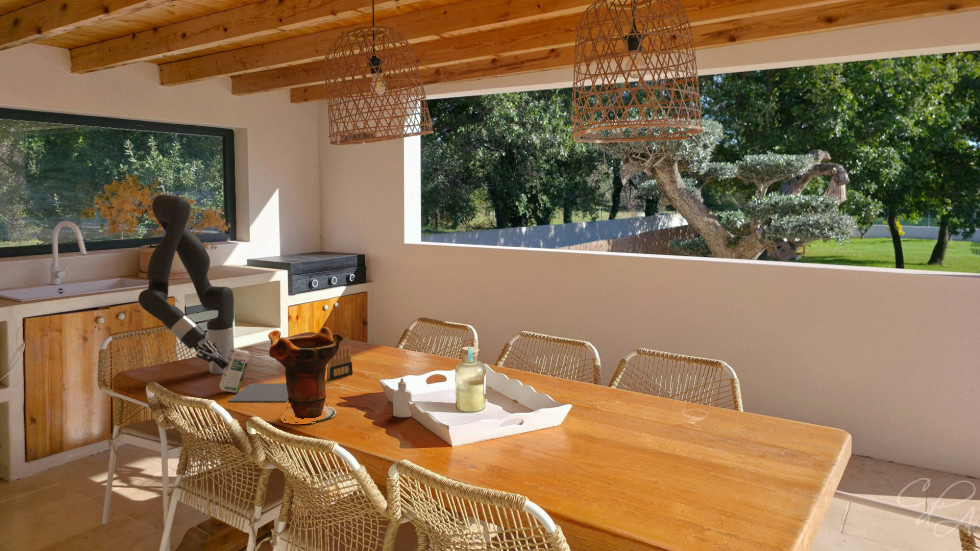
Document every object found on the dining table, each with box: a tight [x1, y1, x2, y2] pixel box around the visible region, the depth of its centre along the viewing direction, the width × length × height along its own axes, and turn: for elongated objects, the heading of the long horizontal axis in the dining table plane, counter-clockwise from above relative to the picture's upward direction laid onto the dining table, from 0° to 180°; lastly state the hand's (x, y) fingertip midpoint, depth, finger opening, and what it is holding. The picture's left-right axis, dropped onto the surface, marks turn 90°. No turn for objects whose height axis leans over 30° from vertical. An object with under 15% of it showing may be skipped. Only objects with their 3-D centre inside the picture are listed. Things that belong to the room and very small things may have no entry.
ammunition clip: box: [326, 343, 354, 381], centre depth 254 cm, size 11×2×12 cm, turn 141°
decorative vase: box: [267, 326, 345, 423], centre depth 211 cm, size 21×23×28 cm
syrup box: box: [219, 347, 251, 394], centre depth 236 cm, size 6×6×14 cm
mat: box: [228, 382, 289, 403], centre depth 235 cm, size 20×19×1 cm
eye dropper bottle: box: [392, 377, 413, 418], centre depth 211 cm, size 4×6×12 cm
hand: (225, 366), depth 235 cm, fingers closed
